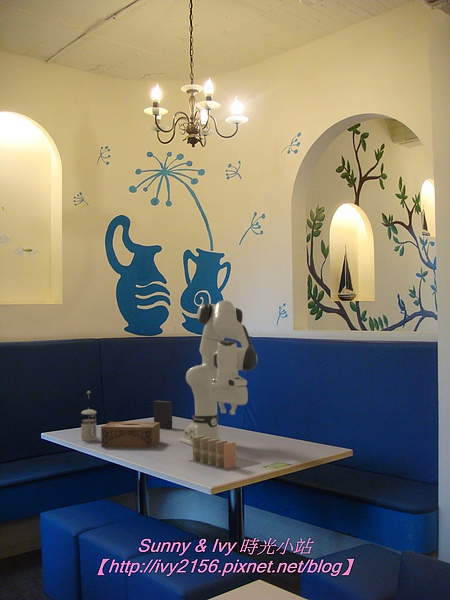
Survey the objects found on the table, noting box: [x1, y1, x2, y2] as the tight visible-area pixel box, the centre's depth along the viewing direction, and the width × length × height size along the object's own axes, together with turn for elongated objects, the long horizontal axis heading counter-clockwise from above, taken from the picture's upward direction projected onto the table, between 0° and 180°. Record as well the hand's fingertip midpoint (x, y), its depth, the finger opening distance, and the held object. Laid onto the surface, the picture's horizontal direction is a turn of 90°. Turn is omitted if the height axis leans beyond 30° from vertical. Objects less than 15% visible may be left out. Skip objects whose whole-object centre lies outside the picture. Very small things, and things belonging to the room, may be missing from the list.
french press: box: [79, 390, 99, 442], centre depth 333 cm, size 10×12×25 cm
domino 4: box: [216, 439, 228, 467], centre depth 264 cm, size 2×5×10 cm, turn 132°
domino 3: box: [208, 439, 219, 465], centre depth 268 cm, size 2×5×10 cm, turn 132°
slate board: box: [188, 456, 262, 472], centre depth 271 cm, size 26×20×1 cm
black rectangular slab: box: [152, 400, 173, 430], centre depth 362 cm, size 11×4×15 cm, turn 58°
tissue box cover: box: [100, 421, 161, 448], centre depth 316 cm, size 26×14×10 cm, turn 82°
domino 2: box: [200, 437, 212, 463], centre depth 272 cm, size 2×5×10 cm, turn 132°
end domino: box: [224, 441, 237, 469], centre depth 261 cm, size 2×5×10 cm, turn 133°
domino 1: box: [192, 436, 204, 461], centre depth 276 cm, size 2×5×10 cm, turn 132°
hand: (227, 413), depth 262 cm, fingers open, 4 cm apart
